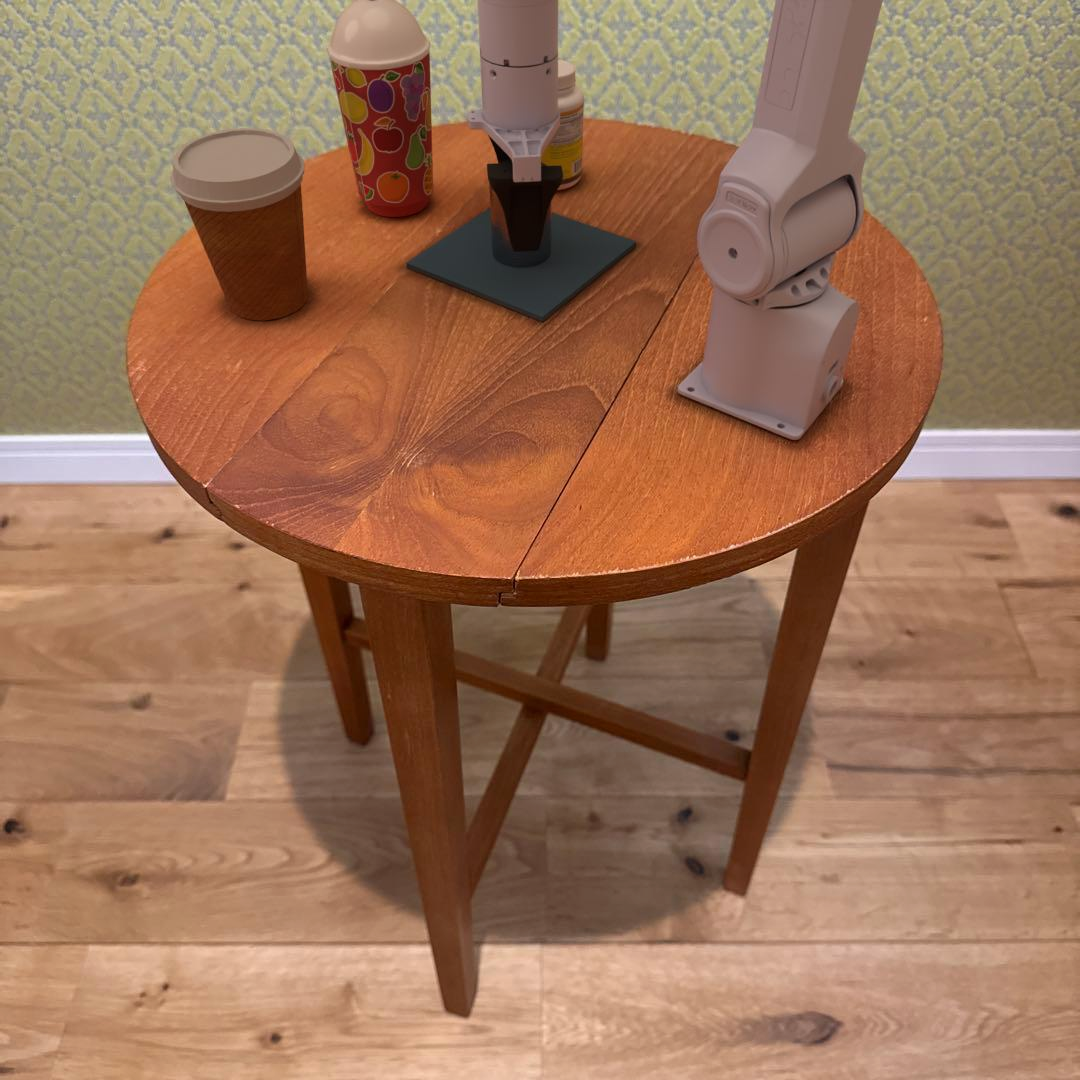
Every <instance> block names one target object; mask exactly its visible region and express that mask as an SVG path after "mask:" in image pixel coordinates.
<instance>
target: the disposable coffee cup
mask: <svg viewBox="0 0 1080 1080" xmlns="http://www.w3.org/2000/svg"><path fill="white" fill-rule="evenodd" d="M305 165H306V164H305V161H304V159H303V157H302V156H301V155H300V154H299V153H298V151H297V149H296V146H295V145H294V142H293V141H292V140H291V138H289V137H288V136H286V135H284V134H282V133H280V132H277V131H273V130H269V129H264V128H256V127H239V128H238V127H237V128H229V129H222V130H216V131H213V132H209V133H207V134H202V135H200V136H198V137H196V138H193V139H191V140H188V142H186V143H185V144H183V145H181V146H180V147H179V148H178V149H177V150H176V152H175V153H174V154H173V159H172V172H171V175H170V183H171V187H172V188H173V190H175V192H176V193H177V194H178V196H179V197H180V198H181V200H182V201H183V202H184V204H185V206H186V207H185V208H186V209H187V211H188V214H189V216H190V218H191V221H192V223H193V225H194V228H195V230H196V233H197V235H198V237H199V240H200V241H201V244H202V246H203V249H204V251H205V254H206V255H207V259H208V260H209V263H210V265H211V267H212V270H213V272H214V274H215V277H216V279H217V281H218V284H219V286H220V288H221V290H222V293H223V295H224V297H225V301H226V302H227V305H228V307H229V309H230V311H232V313H233V314H235V315H236V316H239V317H240V318H243V319H247V320H252V321H271V320H276V319H280V318H284V317H287V316H289V315H291V314H294V313H295V312H297V311H298V310H300V309H301V308H302V307H303V306H304V304H306V302H307V300H308V298H309V291H308V290H309V289H308V275H307V274H308V273H307V258H306V257H307V256H306V241H305V225H304V210H303V194H302V182H303V180H304V179H303V178H304V177H303V175H304V174H305V168H306V166H305Z"/></svg>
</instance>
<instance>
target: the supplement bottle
mask: <svg viewBox="0 0 1080 1080" xmlns="http://www.w3.org/2000/svg"><path fill="white" fill-rule="evenodd" d="M576 82H577V80H576V67H575V65H574V64H573V63H572V62H569V61H566V60H562V59H558V109H559V111H560V126H559V128H558V129H557V131H556V133H555V134H554V136H553V138H552V139H551V141H550V143H549V144H548V146H547V148H546V149H545V151H544V152H543V154H542V156H541V162H542V163H544V164H546V165H547V166H559V165H561V166H562V171H563V179H562V182H561V185H560V187H559V188H558V190H557V191H561V190H566V189H569V188H571V187H573V186H575V185H576V184H577V183H578V182H579V181H580V180H581V177H582V173H583V171H582V170H583V147H584V146H583V145H584V144H583V143H584V111H585V109H584V107H585V105H584V104H585V97H584V96H585V95H584V92H583V90H582V89H581V88H580V87H579V86H578V85H577V84H576Z"/></svg>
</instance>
